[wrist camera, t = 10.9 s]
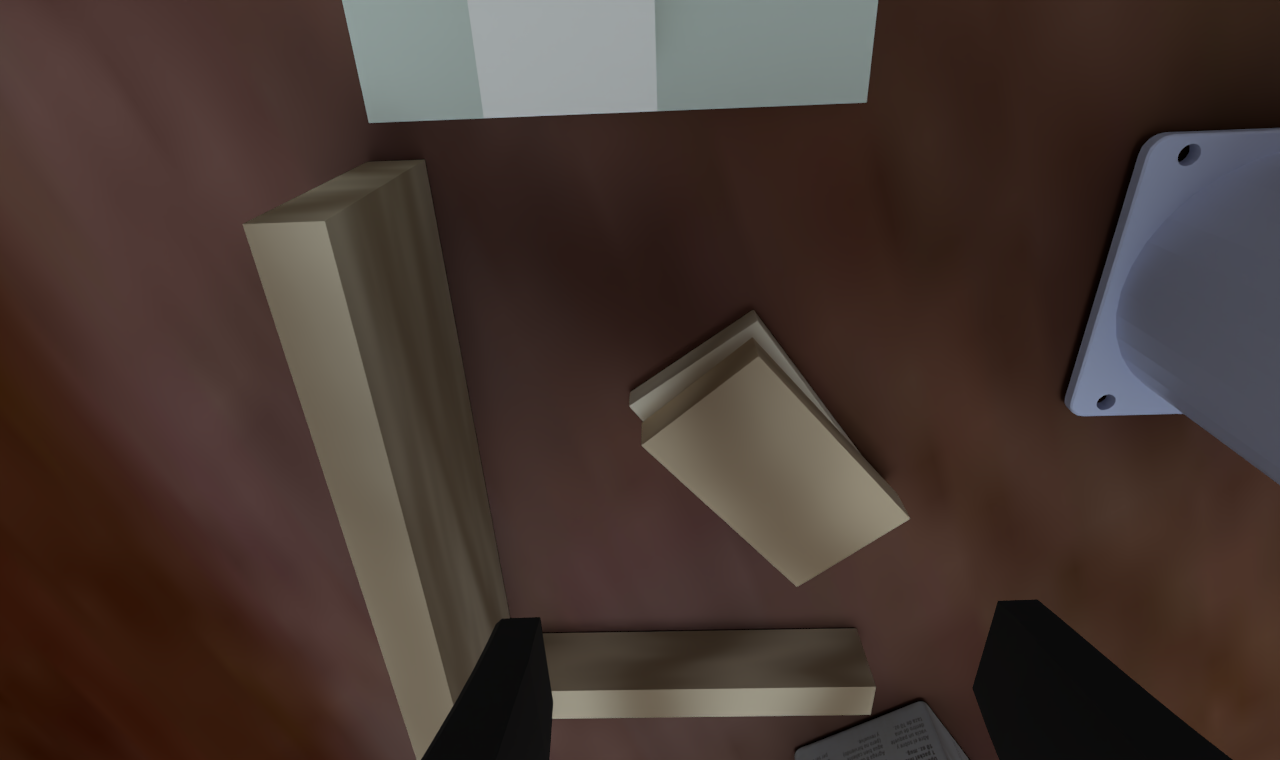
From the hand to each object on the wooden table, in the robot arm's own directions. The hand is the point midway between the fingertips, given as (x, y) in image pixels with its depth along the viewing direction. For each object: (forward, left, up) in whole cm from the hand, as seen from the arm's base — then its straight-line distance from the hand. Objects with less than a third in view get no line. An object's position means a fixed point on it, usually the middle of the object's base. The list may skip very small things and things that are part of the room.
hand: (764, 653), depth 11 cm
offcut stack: (-2, +3, -11) cm, 11 cm away
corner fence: (+2, +3, -10) cm, 11 cm away
